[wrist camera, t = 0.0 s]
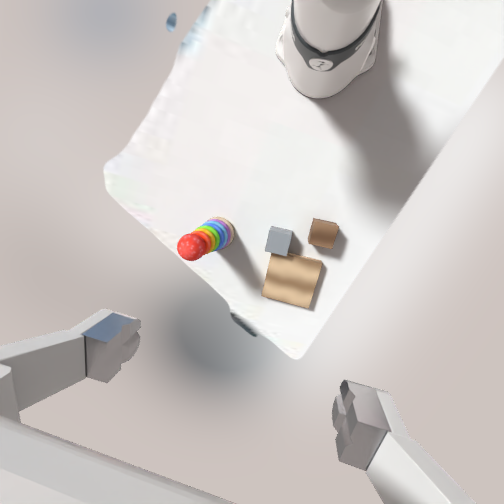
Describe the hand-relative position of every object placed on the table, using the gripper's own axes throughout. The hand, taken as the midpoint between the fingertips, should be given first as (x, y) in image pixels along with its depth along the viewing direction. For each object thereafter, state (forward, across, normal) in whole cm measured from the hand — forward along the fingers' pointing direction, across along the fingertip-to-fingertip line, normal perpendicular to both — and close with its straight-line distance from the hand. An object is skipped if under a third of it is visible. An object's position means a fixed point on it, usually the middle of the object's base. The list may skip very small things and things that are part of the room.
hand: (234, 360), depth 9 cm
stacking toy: (+48, +15, +8) cm, 51 cm away
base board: (+48, -5, +15) cm, 51 cm away
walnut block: (+48, -9, +2) cm, 49 cm away
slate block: (+48, 0, +6) cm, 49 cm away
